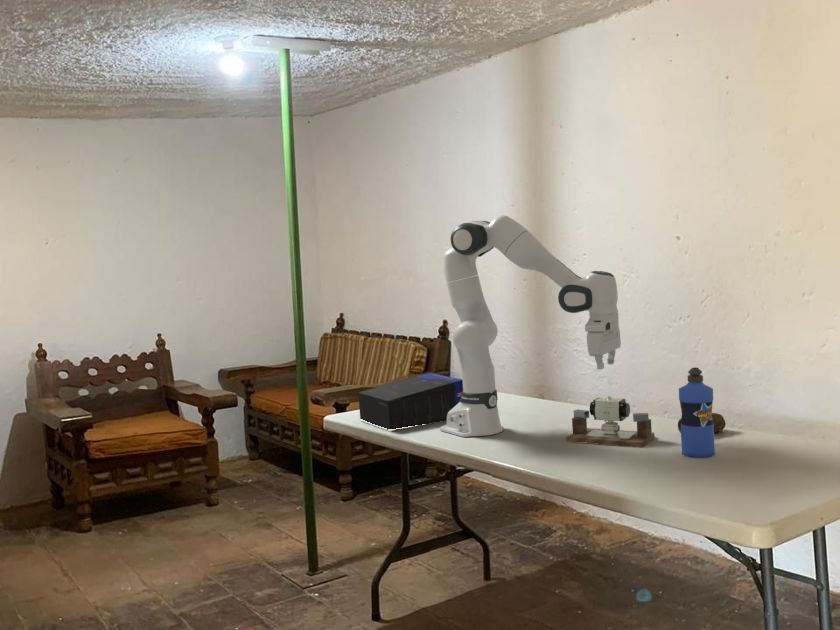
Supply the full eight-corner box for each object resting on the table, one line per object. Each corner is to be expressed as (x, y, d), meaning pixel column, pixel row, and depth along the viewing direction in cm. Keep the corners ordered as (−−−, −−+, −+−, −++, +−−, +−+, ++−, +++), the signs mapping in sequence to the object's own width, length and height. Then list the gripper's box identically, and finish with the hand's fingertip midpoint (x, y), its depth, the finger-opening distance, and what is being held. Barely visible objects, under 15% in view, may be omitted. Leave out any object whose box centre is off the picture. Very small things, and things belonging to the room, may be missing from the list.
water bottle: (674, 452, 239) (670, 368, 237) (699, 447, 243) (696, 364, 240) (696, 459, 231) (692, 372, 228) (722, 454, 234) (719, 368, 232)
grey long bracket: (569, 435, 262) (568, 413, 261) (578, 429, 269) (577, 408, 268) (645, 440, 249) (644, 417, 249) (652, 434, 256) (651, 412, 255)
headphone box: (472, 416, 308) (470, 378, 306) (390, 432, 290) (387, 392, 289) (438, 406, 329) (436, 371, 328) (360, 421, 312) (357, 384, 310)
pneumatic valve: (595, 430, 264) (593, 393, 263) (631, 433, 258) (629, 395, 257) (589, 434, 260) (587, 397, 259) (625, 437, 254) (624, 399, 252)
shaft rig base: (567, 441, 260) (566, 421, 259) (581, 432, 271) (580, 413, 270) (642, 447, 247) (641, 426, 247) (654, 437, 258) (653, 417, 258)
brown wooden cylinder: (692, 440, 252) (691, 419, 251) (676, 436, 258) (675, 415, 258) (728, 432, 258) (727, 411, 258) (711, 428, 265) (710, 408, 264)
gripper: (605, 318, 267) (607, 360, 268) (582, 326, 250) (584, 371, 251) (624, 319, 264) (626, 361, 265) (602, 326, 246) (604, 372, 248)
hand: (605, 366), depth 258 cm, fingers open, 8 cm apart
